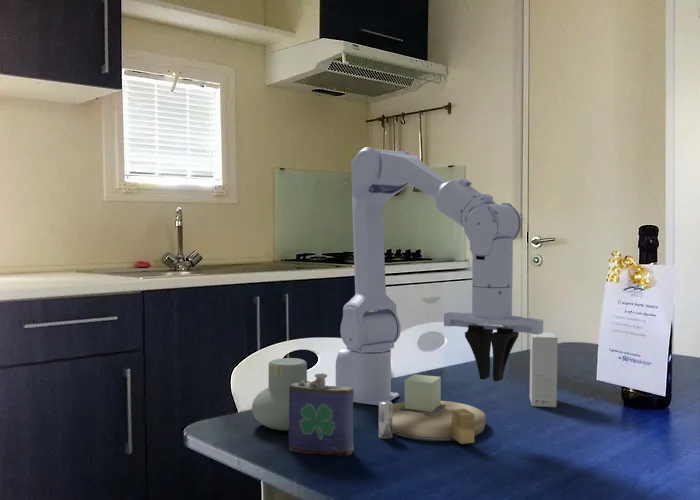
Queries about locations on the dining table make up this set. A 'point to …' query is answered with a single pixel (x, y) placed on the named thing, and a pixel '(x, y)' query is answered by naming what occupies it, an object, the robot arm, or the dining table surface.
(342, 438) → the flask
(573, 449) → the dining table surface
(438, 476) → the dining table surface
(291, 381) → the grey bulbous piece
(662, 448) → the dining table surface
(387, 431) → the turntable base
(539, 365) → the skincare box
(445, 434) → the disc
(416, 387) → the sage block
